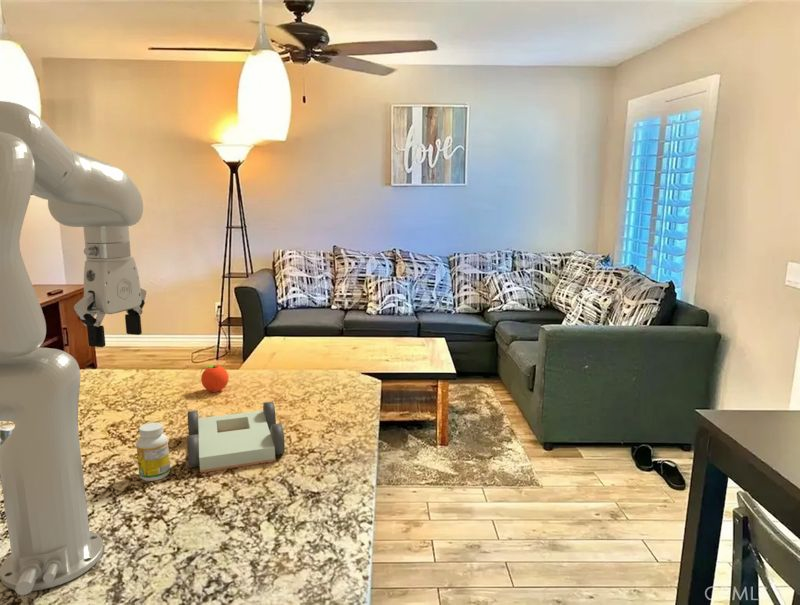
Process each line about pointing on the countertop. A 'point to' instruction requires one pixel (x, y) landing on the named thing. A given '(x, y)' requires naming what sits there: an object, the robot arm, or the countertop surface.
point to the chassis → (234, 439)
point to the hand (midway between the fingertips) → (116, 340)
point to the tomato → (214, 378)
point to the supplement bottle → (152, 452)
